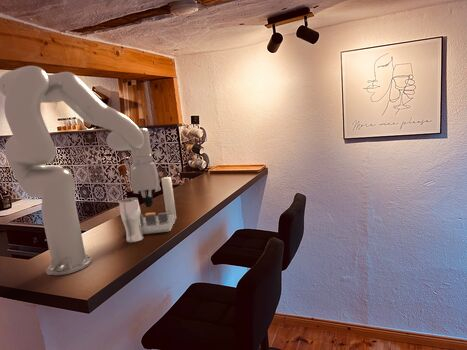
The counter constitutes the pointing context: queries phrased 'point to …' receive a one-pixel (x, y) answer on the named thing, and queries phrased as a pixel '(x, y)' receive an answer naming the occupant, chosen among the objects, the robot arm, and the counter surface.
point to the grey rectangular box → (163, 216)
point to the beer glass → (131, 219)
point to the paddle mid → (150, 217)
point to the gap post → (168, 196)
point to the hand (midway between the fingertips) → (149, 206)
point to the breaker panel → (157, 225)
